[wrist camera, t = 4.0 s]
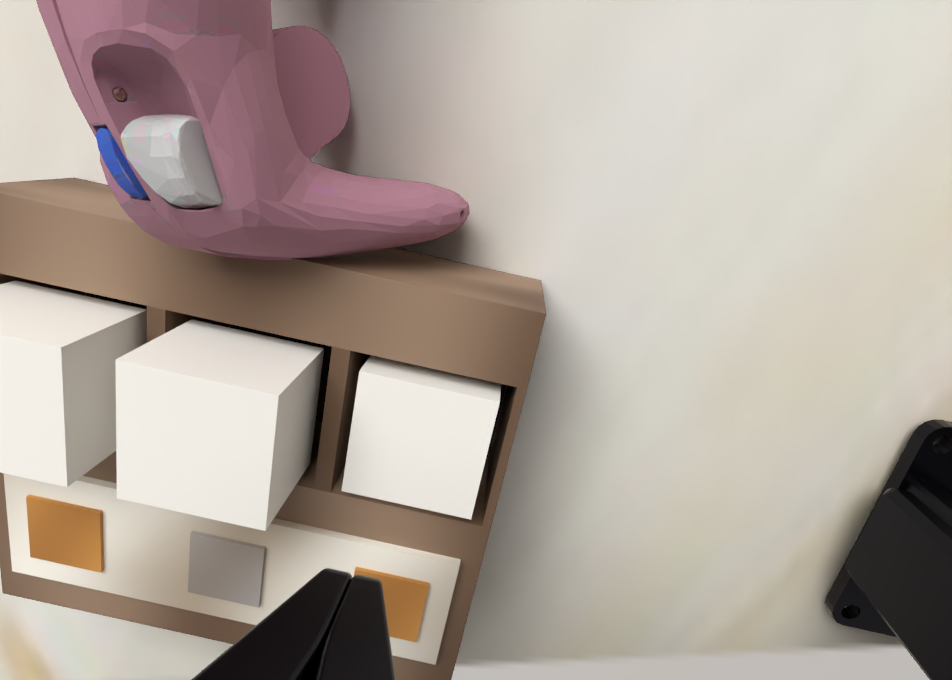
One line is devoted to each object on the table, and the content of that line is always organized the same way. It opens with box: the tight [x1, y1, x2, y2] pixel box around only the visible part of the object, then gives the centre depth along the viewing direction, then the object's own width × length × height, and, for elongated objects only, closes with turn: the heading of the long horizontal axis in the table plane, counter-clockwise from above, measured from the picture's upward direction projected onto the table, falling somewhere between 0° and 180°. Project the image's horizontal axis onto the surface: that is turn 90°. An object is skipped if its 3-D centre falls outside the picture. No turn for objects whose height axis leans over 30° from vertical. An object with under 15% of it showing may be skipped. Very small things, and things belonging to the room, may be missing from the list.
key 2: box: [342, 355, 501, 520], centre depth 13 cm, size 3×3×2 cm
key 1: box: [0, 280, 147, 487], centre depth 12 cm, size 3×3×2 cm
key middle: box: [115, 319, 324, 531], centre depth 12 cm, size 3×3×2 cm
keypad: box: [0, 178, 546, 680], centre depth 14 cm, size 12×11×3 cm
